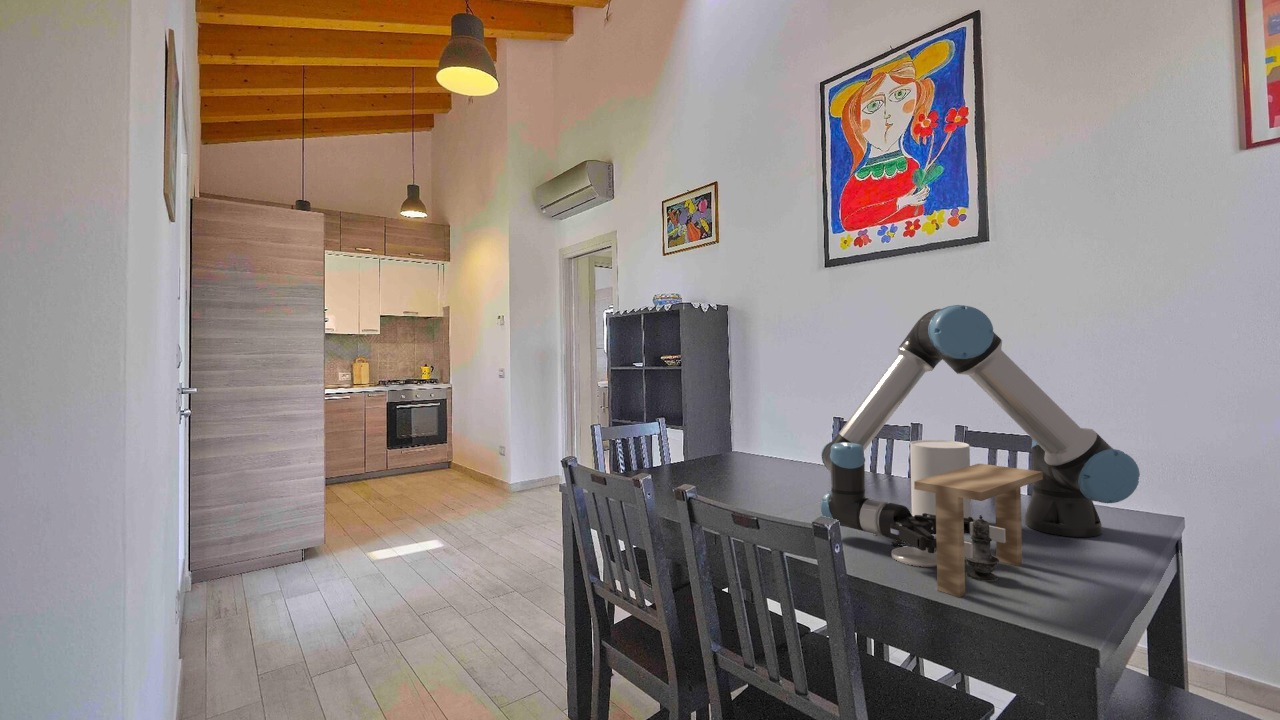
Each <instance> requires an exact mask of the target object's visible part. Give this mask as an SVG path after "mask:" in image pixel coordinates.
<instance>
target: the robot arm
mask: <svg viewBox="0 0 1280 720" xmlns="http://www.w3.org/2000/svg"><path fill="white" fill-rule="evenodd" d="M1002 346H1003V340H1002V338H1001V337H1000V336H999V335H998V334H997V333H996V332H995V331H994V327H993V323H992V321H991V319H990V318H989V317H988V315H987V314H986V313H984V311H982V310H980V309H978V308H976V307H974V306H970V305H962V304H953V305H949V306H946V307H942V308H938V309H937V308H936V309H933V310H929V311H928V312H927V313H925V314H924V315H922V316H921V317H920V318H919V319H918V320H917V321H916V323H915V324H914V325H913V327H912V328H911V330H910V331H909V333H908V334H907V335H906V337H905V338H904V340H903V341H902V342H901V343H900V345H899V346H898V348H897V353H898V354H897V356H896V357H895V358H894V360H893V361H892V363H891V364H890V365H889V366H888V367H887V369H886V370H885V372H884V373H883V374H882V375H881V377H880V378H879V380H878V381H877V382H876V383H875V385H874V386H873V388H871V390H870V391H869V392H868V394H867V396H866V397H865V398H864V399H863V400H862V402H860V404H859V406H858V407H857V408H856V410H855V411H854V412H853V413H852V415H851V416H850V417H849V418H848V420H847V421H846V423H845V424H844V425H843V427H841V430H839V432H838V434H837V435H836V436H835V437H834V438H833V440H832V441H829V442H828V443H826V444H825V445H824V446H823V448H822V450H821V455H820V456H821V460H822V464H823V465H824V467H825V468H826V469H827V470H828V471H829V472H830V477H831V478H830V480H831V481H830V482H831V485H830V487H831V490H830V491H827V492H826V493H824V494H823V497H822V499H821V500H822V501H821V503H820V512H821V516H822V517H823V516H826V517H830V518H833V519H837V520H839V522H840V527H845V528H849V529H852V530H853V529H854V530H858V531H863V532H864V533H870V534H872V535H873V536H874V537H877V536H881V537H885V538H887V539H893V540H895V541H896V540H902V541H904V542H905V543H906V544H910V545H909V546H913V547H916V548H918V549H920V550H922V551H925V550H926V549H928V553H935V552H936V551H937V543H936V538H935V536H934V535H936V515H931V514H926V513H923V514H922V515H915V516H912V512H911V511H910V509H909V508H908V507H907V506H906V505H902V504H898V503H894V502H889V501H885V500H878V499H874V498H868V497H866V485H865V484H866V482H865V481H866V473H865V471H866V469H865V467H866V466H865V465H866V464H865V462H866V458H865V450H867V448H868V447H869V445H870V444H871V442H872V441H874V439H875V438H876V437H877V435H878V433H879V432H880V431H881V430H882V429H883V427H884V426H885V425H886V424H887V422H888V421H889V420H890V418H892V416H893V415H894V413H895V412H896V411H897V409H898V408H899V407H900V405H901V404H902V403H903V401H904V400H905V399H906V397H908V396H909V394H910V392H911V391H912V390H913V389H914V388H915V386H916V385H917V384H918V383H919V381H920V380H921V378H923V376H924V375H925V373H927V372H932V371H933V370H934V369H935V368H936V367H937V366H938V364H939V363H941V361H943V362H944V363H946V364H947V365H948V366H949V367H950V369H952V370H953V371H954V372H955V373H956V374H957V375H965V376H966V375H967V376H969V377H970V379H972V381H974V382H975V383H976V384H977V385H978V386H979V387H980V388H981V389H982V391H984V392H985V393H986V394H987V395H988V396H989V397H990V398H991V399H992V400H993V401H994V402H995V403H996V405H998V406H999V407H1000V408H1001V409H1002V410H1003V411H1004V412H1005V413H1006V414H1007V415H1008V416H1009V417H1010V418H1011V419H1012V421H1014V422H1015V423H1016V424H1017V425H1018V426H1019V427H1020V428H1021V429H1022V430H1023V431H1024V432H1025V433H1026V434H1027V435H1028V436H1029V437H1030V438H1031V441H1032V442H1031V447H1030V448H1031V464H1032V466H1031V467H1032V469H1031V470H1034V471H1041V472H1043V479H1042V480H1039V481H1036V482H1033V483H1032V495H1031V498H1030V501H1029V504H1028V505H1027V509H1026V512H1025V513H1024V523H1025V526H1027V527H1029V528H1030V529H1033V530H1036V531H1039V532H1042V533H1046V534H1050V535H1056V536H1063V537H1073V538H1074V537H1075V538H1091V537H1097V536H1100V535H1102V534H1103V533H1102V532H1103V527H1102V525H1103V524H1102V521H1101V519H1100V516H1099V514H1098V512H1097V509H1096V506H1095V504H1094V502H1097V503H1103V504H1116V503H1119V502H1123V501H1124V500H1127V499H1128V498H1129V497H1130V496H1131V495H1133V493H1134V492H1135V491H1136V490H1137V488H1138V485H1139V479H1140V475H1141V474H1140V473H1141V472H1140V468H1139V466H1138V464H1137V462H1136V461H1135V459H1134V458H1133V457H1131V456H1130V455H1129V454H1128V453H1125V452H1124V451H1122V450H1120V449H1115V448H1113V447H1112V446H1111V445H1110V444H1109V443H1108V442H1106V440H1104V439H1103V438H1102V436H1101V435H1099V434H1098V432H1096V431H1095V430H1094V429H1092V428H1086V427H1080V426H1079V425H1078V424H1077V423H1076V422H1075V421H1074V420H1073V418H1072V417H1070V416H1069V415H1068V413H1066V412H1065V411H1064V410H1063V409H1062V408H1061V407H1060V406H1059V405H1058V404H1057V403H1056V402H1055V401H1054V400H1053V399H1052V398H1051V397H1050V396H1049V395H1048V394H1047V393H1046V392H1045V391H1044V390H1043V389H1042V388H1041V387H1040V386H1038V385H1037V384H1036V383H1035V381H1034V380H1033V379H1032V378H1030V376H1028V374H1026V372H1025V371H1024V370H1022V368H1021V367H1019V365H1018V364H1017V363H1015V362H1014V360H1012V359H1011V357H1009V355H1007V354H1006V352H1004V351H1003V350H1002ZM973 521H975V520H974V519H973V517H972V516H971V517H968V518H964V534H969V536H973ZM989 531H990V538H991V539H992V541H993V542H996V541H997V542H1001V543H1005V542H1006V536H1005V529H1004V528H999V527H996V526H993V525H989ZM992 541H991V542H992ZM935 550H936V551H935ZM965 557H967V558H973V544H972V542H969V541H966V540H964V558H965Z"/></svg>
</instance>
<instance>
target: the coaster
mask: <svg viewBox="0 0 1280 720" xmlns="http://www.w3.org/2000/svg"><path fill="white" fill-rule="evenodd" d="M890 556H891V558H892V559H893V560H894V559H895V560H894V561H896V560H897V562H898V561H900V562H902V563H901V564H903V563H905V564H904V565H907V564H909V565H908V566H911V565H913V567H919V566H921V567H922V568H931V567H933V568H934V567H937V551H935V553H928V548H926V550H925V551H922V550H920V549H918V548H916V547H914V546H913V547H900V546H899V547H896V548H893V549H892V550H891V555H890ZM900 562H899V563H900ZM921 567H920V568H921Z"/></svg>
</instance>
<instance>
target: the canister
mask: <svg viewBox="0 0 1280 720" xmlns="http://www.w3.org/2000/svg"><path fill="white" fill-rule="evenodd" d="M909 445H910V446H909V448H910V455H909V456H910V492H911V493H910V494H911V497H910V498H911V515H912V516H915V515H922V514H923V513H926V514H931V515H936V495H935V493H933V492H927V491H922V490H916V489H914V481H917V480H921V479H925V478H928V477H932V476H935V475H939V474H943V473H946V472H950V471H954V470H957V469H961V468H964V467H968V466H971V459H970V458H971V455H970V450H971V447H970V446H971V445H970V444H969V443H966V442H962V441H954V440H943V439H942V440H941V439H921V440H914V441H913V440H912V441H910V443H909ZM971 500H972V499H967V498H963V511H964V518H968V517H972V514H971V513H972V507H971V506H972V505H971V504H972V503H971V502H972V501H971Z"/></svg>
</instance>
